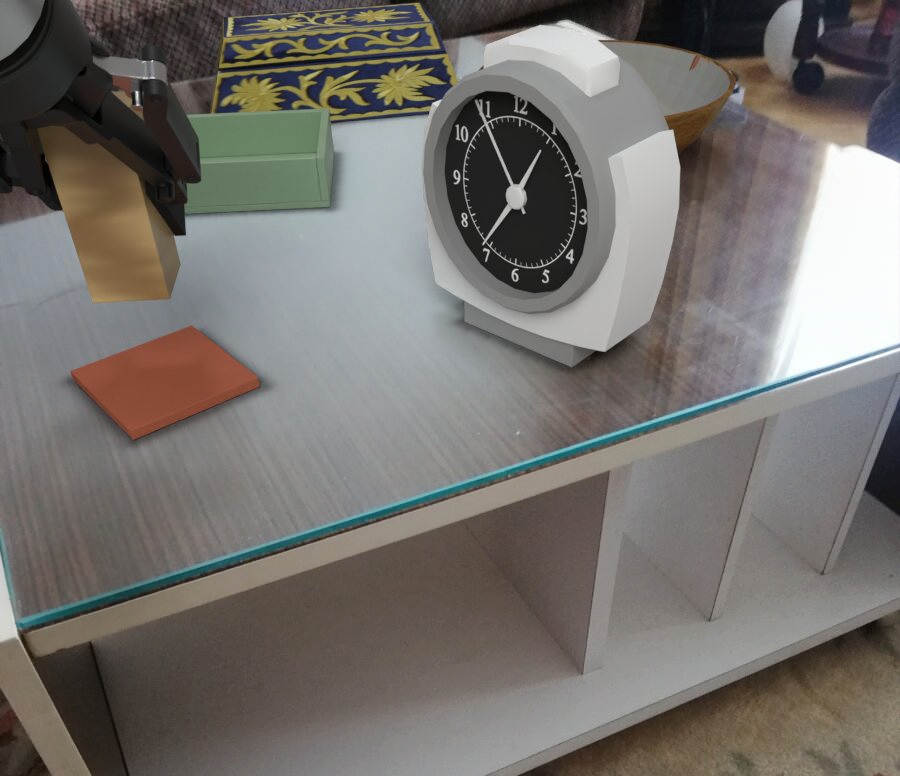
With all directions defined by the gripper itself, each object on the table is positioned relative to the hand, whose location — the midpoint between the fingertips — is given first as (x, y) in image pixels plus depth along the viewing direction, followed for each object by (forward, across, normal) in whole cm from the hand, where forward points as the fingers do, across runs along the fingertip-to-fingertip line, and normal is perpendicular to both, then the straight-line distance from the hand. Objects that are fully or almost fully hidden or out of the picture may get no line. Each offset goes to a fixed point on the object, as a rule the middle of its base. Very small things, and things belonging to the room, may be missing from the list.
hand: (136, 217), depth 62 cm
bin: (+31, +2, +16) cm, 35 cm away
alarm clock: (+9, +28, -7) cm, 30 cm away
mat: (+5, 0, -10) cm, 11 cm away
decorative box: (+47, +11, +32) cm, 58 cm away
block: (-1, 0, -5) cm, 5 cm away
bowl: (+32, +38, +17) cm, 53 cm away
